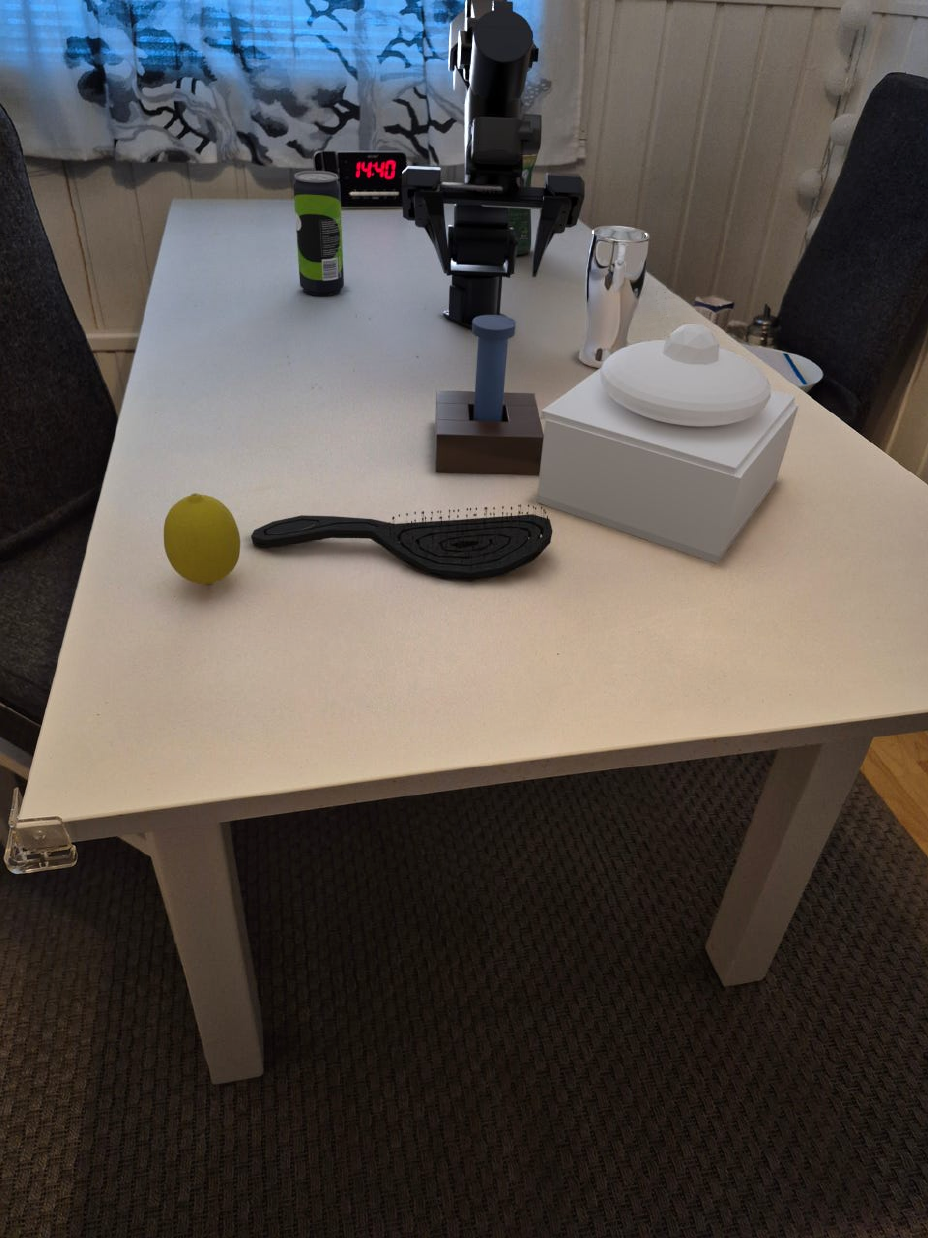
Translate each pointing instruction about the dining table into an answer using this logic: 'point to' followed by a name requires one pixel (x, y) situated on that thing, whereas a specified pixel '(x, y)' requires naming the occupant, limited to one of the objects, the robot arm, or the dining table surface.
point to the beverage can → (319, 232)
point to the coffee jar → (522, 216)
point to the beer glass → (612, 289)
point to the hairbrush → (429, 540)
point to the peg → (491, 364)
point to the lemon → (201, 539)
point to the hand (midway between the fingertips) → (490, 273)
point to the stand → (487, 435)
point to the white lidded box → (668, 443)
